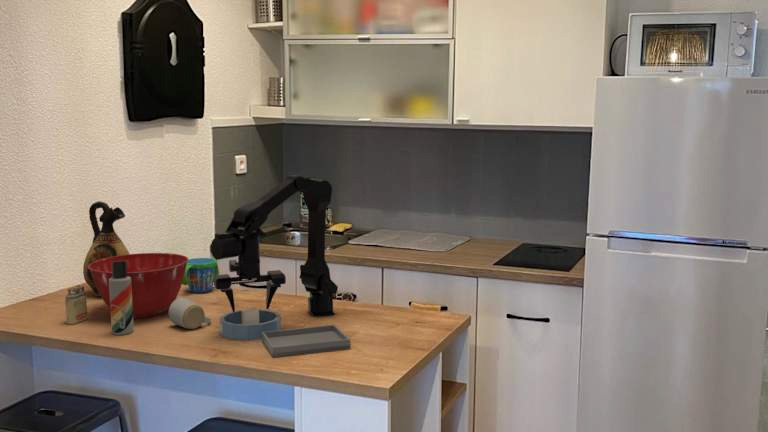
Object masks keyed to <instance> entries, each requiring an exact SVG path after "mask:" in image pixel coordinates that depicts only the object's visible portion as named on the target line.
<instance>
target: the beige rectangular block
mask: <svg viewBox="0 0 768 432" xmlns="http://www.w3.org/2000/svg"><path fill="white" fill-rule="evenodd" d="M258 309H259V308H257V307H250V308H249V307H247V308H241V310H242V324H247V325H249V324H259V311H258Z"/></svg>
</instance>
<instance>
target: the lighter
mask: <svg viewBox="0 0 768 432" xmlns="http://www.w3.org/2000/svg"><path fill="white" fill-rule="evenodd" d="M67 293H68V294H65V303H64V304H65V314H66V315H65V318H66V319H65V320H66V324H68V325H75V324H76V325H77V324H79V323H81V322H83V321H86V320H88V307H87V306H88V305H87V294H86V291H85V286H84V285H82V286H81V285H80V284H78V285H76V286H74V287H73V288H71V287H70V288H68V289H67Z"/></svg>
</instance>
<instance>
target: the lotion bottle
mask: <svg viewBox="0 0 768 432" xmlns="http://www.w3.org/2000/svg"><path fill="white" fill-rule="evenodd" d="M109 291H110V309H109V310H110V324H111V333H112V334H113V335H116V336H123V335H124V336H125V335H130V334H132V333H133V332H134V318H133V307H132V288H131V277H129V276H127V262H126V261H118V262H112V278H110V279H109Z"/></svg>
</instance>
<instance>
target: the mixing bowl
mask: <svg viewBox="0 0 768 432" xmlns="http://www.w3.org/2000/svg"><path fill="white" fill-rule="evenodd" d="M188 259H189V258H188V256H186V255H182V254H177V253H170V252H169V253H168V252H145V253H144V252H141V253H129V254H128V255H120V256H113V257H108V258H104V259H100V260H97V261H94V262H92V263H90V264H89V265H88V268H89V269H90V272H91V275H92V278H93V280H94V283H95V285H96V288H97V290H98V292H99V294H100V295H101V297H100V298H101V299H102V301H103V302H104V305H106V307H107V308H108V309H109V310H110V291H109V279H110V278H112V262H118V261H126V262H127V276H129V277H131V288H132V307H133V319H134V318H135V319H138V318H139V319H141V318H149V317H153V316H158V315H160V314H163V313H164V312H166V310H169V307H170V305H171V304H172V303H173V301H175V300H176V299H177V297H178V295H179V293H180V290H181V287H182V285H183V284H182V282H183V279H184V275H185V270H186V265H187V262H188Z"/></svg>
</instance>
